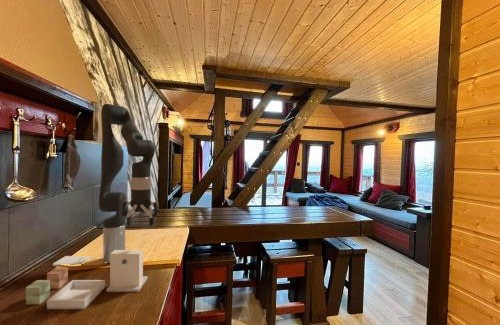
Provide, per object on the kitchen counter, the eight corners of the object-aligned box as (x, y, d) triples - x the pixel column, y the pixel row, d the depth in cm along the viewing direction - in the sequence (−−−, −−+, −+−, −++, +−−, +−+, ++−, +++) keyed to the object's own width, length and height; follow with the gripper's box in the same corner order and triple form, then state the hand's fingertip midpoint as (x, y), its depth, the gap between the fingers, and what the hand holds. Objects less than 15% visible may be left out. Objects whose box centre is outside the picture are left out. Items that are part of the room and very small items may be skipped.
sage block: (37, 296, 85) (36, 280, 84) (50, 296, 85) (49, 280, 85) (26, 304, 80) (25, 287, 80) (39, 304, 81) (39, 287, 80)
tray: (72, 287, 90) (72, 280, 90) (105, 287, 91) (105, 280, 91) (47, 309, 78) (46, 300, 78) (84, 309, 79) (84, 300, 78)
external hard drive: (66, 258, 114) (91, 259, 114) (52, 267, 106) (80, 267, 106) (66, 255, 114) (91, 255, 114) (52, 263, 106) (80, 264, 106)
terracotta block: (56, 282, 94) (56, 267, 93) (67, 282, 94) (67, 267, 94) (47, 288, 89) (46, 273, 89) (59, 288, 89) (59, 273, 89)
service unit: (118, 278, 97) (118, 246, 97) (147, 278, 98) (147, 246, 97) (106, 291, 88) (106, 255, 88) (138, 291, 89) (138, 256, 88)
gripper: (161, 186, 100) (160, 223, 101) (127, 185, 100) (127, 223, 100) (155, 189, 93) (154, 229, 94) (118, 188, 92) (118, 228, 93)
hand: (140, 226), depth 97 cm, fingers open, 8 cm apart
